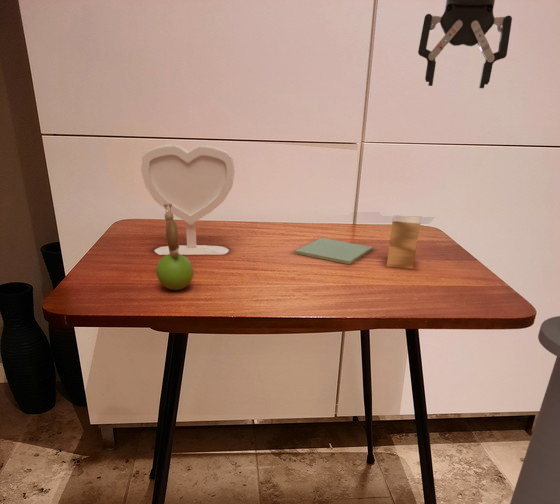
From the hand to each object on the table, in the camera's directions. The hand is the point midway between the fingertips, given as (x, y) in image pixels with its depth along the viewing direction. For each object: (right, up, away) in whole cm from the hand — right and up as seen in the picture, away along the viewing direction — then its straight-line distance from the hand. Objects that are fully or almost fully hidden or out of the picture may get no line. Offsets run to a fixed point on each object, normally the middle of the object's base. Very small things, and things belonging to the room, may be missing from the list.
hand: (455, 87), depth 94 cm
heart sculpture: (-47, -27, +6) cm, 54 cm away
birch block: (-9, -30, +3) cm, 31 cm away
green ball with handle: (-46, -37, -11) cm, 60 cm away
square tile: (-20, -26, +9) cm, 34 cm away
